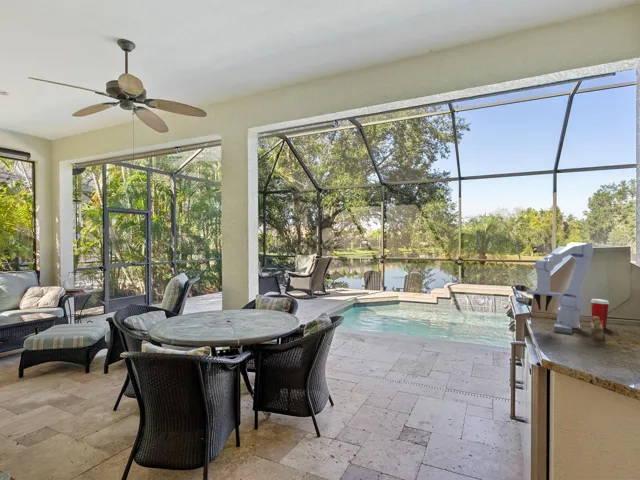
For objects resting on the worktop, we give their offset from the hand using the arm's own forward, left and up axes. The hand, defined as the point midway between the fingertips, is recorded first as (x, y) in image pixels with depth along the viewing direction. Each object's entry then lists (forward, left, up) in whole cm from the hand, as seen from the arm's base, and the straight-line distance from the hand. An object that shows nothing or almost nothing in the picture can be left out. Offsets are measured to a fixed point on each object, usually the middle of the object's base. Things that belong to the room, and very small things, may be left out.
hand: (542, 309), depth 177 cm
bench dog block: (+22, 0, -9) cm, 23 cm away
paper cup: (+24, +23, -10) cm, 34 cm away
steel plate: (+9, 0, -10) cm, 13 cm away
